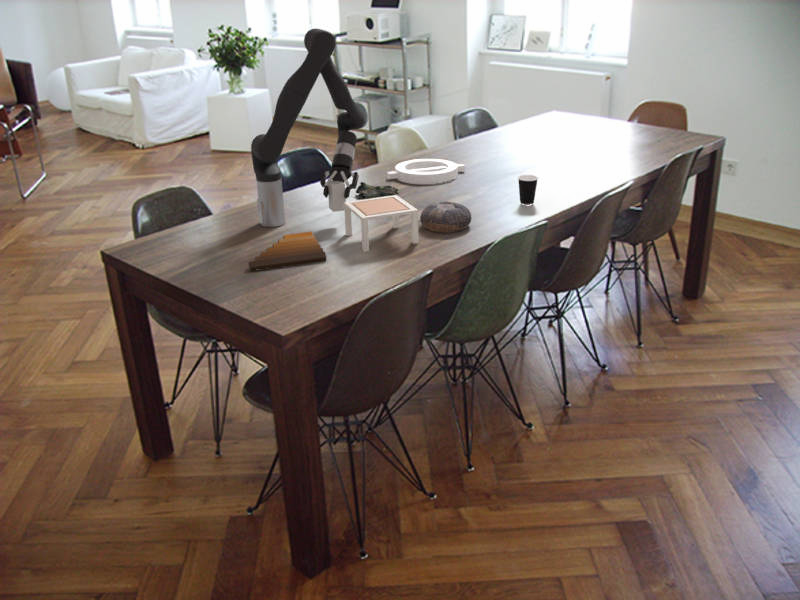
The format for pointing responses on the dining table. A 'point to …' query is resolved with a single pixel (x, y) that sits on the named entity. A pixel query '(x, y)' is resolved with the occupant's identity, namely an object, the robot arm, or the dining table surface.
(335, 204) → the grey upright block
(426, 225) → the sea urchin shell
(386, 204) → the trapdoor
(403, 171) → the ring with crossbar
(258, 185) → the robot arm
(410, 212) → the white four-legged frame
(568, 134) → the dining table surface
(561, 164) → the dining table surface
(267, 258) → the pan flute
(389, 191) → the decorative rock
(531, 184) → the glass of dark beer
